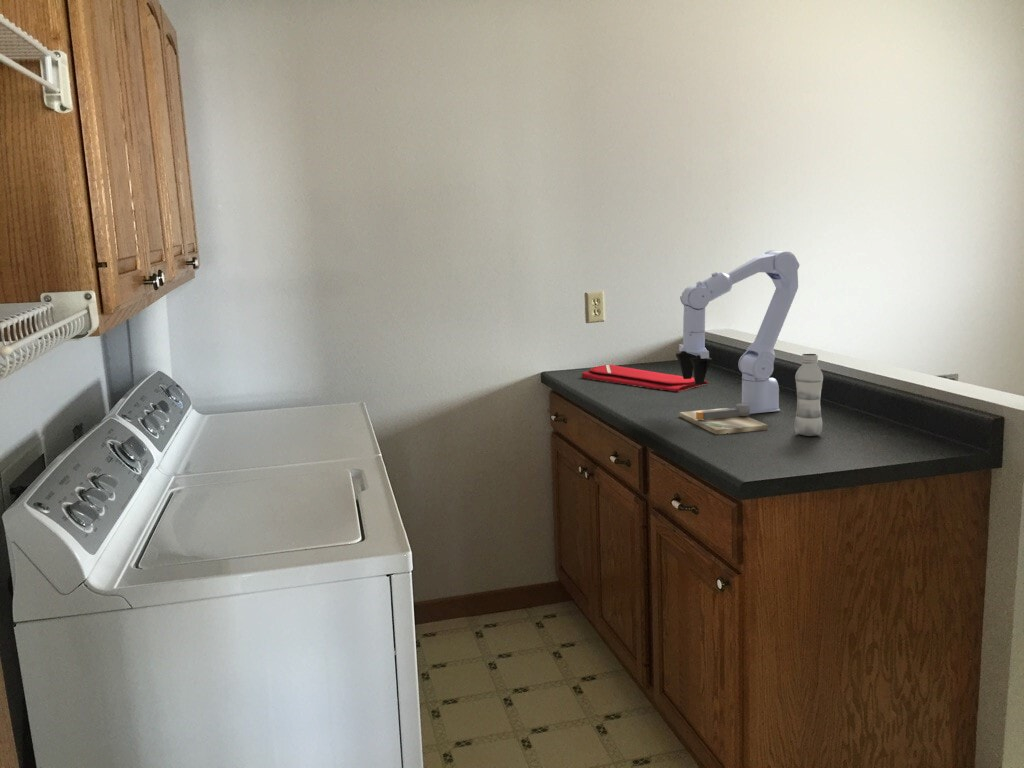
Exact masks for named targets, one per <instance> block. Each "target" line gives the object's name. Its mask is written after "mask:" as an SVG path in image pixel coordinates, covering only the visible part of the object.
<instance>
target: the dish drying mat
mask: <svg viewBox="0 0 1024 768" xmlns="http://www.w3.org/2000/svg"><path fill="white" fill-rule="evenodd" d="M581 378H582V379H583V378H589V379H595V380H601V381H608V382H614V383H622V384H629V385H636V386H642V387H648V388H647V389H649V388H655V389H662V390H671V391H677V392H679V391H681V390H685V389H688V388H692V387H695V386H699V385H702V384H695V380H694V377H692V378H691V379H683V375H676V374H669V373H663V372H657V371H650V370H644V369H637V368H633V367H625V366H620V365H614V364H604V365H598V366H595V367H590V369H589V370H587V371H583V372H582V374H581ZM589 379H588V380H589ZM595 380H594V381H595ZM601 381H600V382H601ZM614 383H613V384H614ZM703 384H707V385H708V384H709V383H708V381H707V380H705V379H704V383H703ZM655 389H654V390H655ZM662 390H661V391H662ZM677 392H676V393H677ZM679 393H680V392H679Z"/></svg>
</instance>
